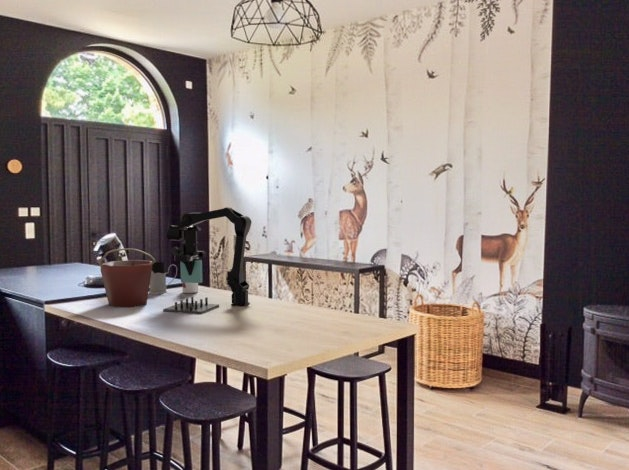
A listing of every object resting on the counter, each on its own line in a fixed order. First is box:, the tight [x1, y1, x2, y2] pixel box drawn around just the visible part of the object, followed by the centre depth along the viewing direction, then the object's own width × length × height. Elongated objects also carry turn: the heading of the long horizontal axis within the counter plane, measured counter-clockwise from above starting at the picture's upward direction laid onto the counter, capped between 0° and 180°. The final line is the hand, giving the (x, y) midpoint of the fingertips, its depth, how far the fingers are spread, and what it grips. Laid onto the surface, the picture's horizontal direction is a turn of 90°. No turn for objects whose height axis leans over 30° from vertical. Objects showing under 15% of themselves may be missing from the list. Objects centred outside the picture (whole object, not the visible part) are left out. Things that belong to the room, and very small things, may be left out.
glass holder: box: [148, 261, 178, 295], centre depth 291 cm, size 9×14×15 cm, turn 115°
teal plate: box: [179, 259, 203, 284], centre depth 263 cm, size 10×2×10 cm, turn 71°
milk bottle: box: [181, 282, 199, 294], centre depth 291 cm, size 8×8×20 cm
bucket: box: [96, 247, 156, 308], centre depth 262 cm, size 24×22×25 cm
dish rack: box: [162, 296, 220, 315], centre depth 249 cm, size 18×16×4 cm
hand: (191, 274), depth 263 cm, fingers closed on teal plate, 2 cm apart
